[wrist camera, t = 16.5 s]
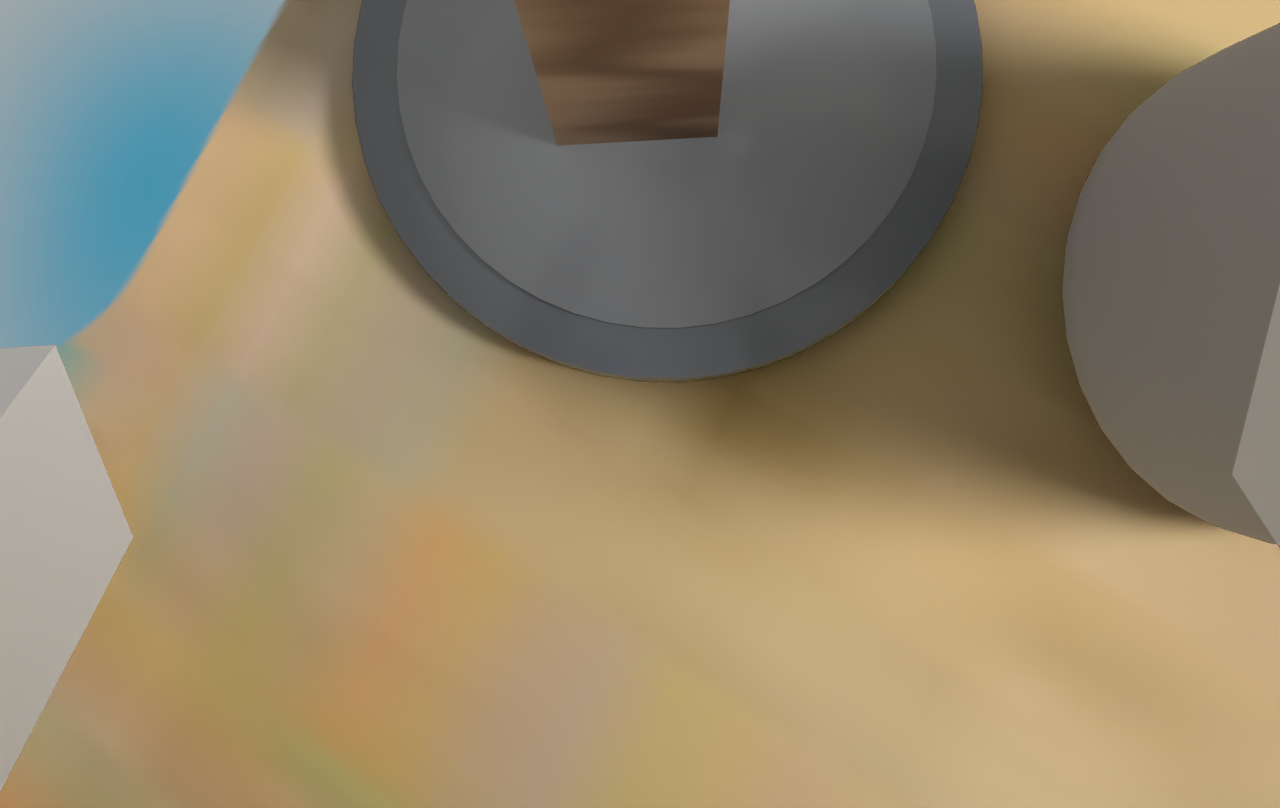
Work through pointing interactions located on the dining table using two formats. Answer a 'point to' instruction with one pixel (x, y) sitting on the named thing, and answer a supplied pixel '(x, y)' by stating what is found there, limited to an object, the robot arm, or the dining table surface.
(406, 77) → the dish
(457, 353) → the dining table surface
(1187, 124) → the jar
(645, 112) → the walnut block
